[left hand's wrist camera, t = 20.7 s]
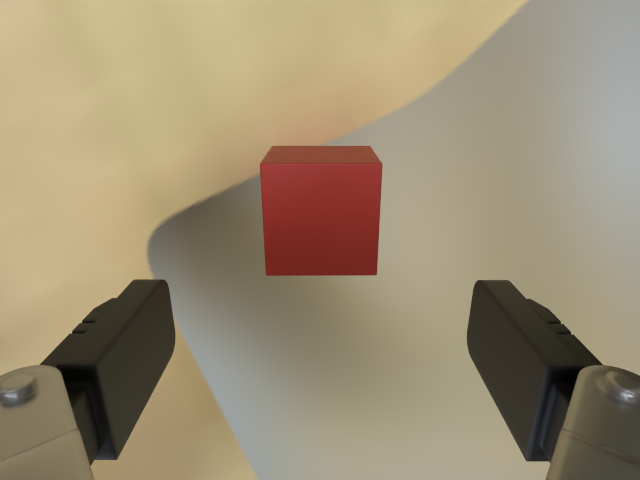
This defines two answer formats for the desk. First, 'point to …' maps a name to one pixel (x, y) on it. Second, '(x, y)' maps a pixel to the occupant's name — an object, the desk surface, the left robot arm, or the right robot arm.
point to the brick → (321, 210)
